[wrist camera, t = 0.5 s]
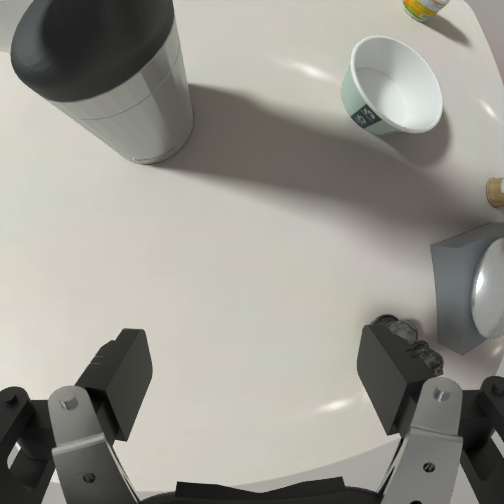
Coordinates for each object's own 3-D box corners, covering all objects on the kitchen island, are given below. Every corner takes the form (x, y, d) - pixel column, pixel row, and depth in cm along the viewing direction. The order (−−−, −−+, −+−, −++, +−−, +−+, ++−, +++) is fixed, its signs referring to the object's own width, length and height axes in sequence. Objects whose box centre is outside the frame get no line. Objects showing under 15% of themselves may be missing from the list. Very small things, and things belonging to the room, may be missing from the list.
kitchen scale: (430, 245, 34) (458, 248, 28) (492, 221, 35) (518, 222, 29) (438, 342, 35) (462, 355, 30) (497, 306, 36) (520, 313, 31)
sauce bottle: (5, 49, 24) (-58, -4, 7) (43, 13, 25) (-8, -52, 7) (17, 73, 25) (-57, 16, 8) (59, 34, 26) (1, -41, 8)
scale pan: (457, 251, 29) (472, 253, 26) (511, 227, 30) (524, 227, 28) (461, 349, 30) (474, 355, 28) (514, 312, 31) (526, 316, 29)
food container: (364, 46, 31) (386, 21, 24) (426, 112, 32) (456, 97, 26) (309, 91, 30) (328, 65, 24) (382, 166, 32) (413, 156, 26)
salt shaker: (409, 321, 34) (472, 353, 22) (387, 362, 34) (442, 405, 22) (377, 304, 33) (441, 336, 21) (354, 348, 33) (407, 395, 22)
